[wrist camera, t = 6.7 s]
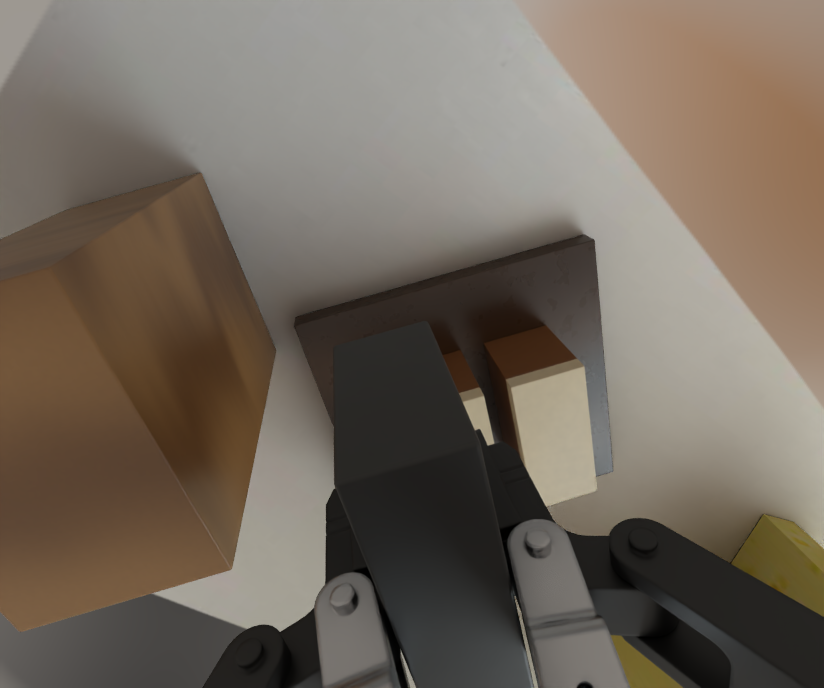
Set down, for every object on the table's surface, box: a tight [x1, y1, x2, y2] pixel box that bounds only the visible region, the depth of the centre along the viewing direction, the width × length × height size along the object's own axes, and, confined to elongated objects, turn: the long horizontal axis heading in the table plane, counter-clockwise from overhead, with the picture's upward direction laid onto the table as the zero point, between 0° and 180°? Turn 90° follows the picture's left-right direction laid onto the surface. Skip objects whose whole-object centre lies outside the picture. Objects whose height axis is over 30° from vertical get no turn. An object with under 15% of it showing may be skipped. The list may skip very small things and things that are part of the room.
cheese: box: [611, 514, 824, 688], centre depth 48 cm, size 26×26×15 cm
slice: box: [484, 325, 597, 506], centre depth 35 cm, size 10×4×6 cm, turn 14°
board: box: [294, 235, 613, 477], centre depth 38 cm, size 20×20×2 cm
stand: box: [0, 173, 276, 632], centre depth 24 cm, size 12×8×18 cm, turn 14°
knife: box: [333, 321, 534, 688], centre depth 15 cm, size 22×2×5 cm, turn 13°
